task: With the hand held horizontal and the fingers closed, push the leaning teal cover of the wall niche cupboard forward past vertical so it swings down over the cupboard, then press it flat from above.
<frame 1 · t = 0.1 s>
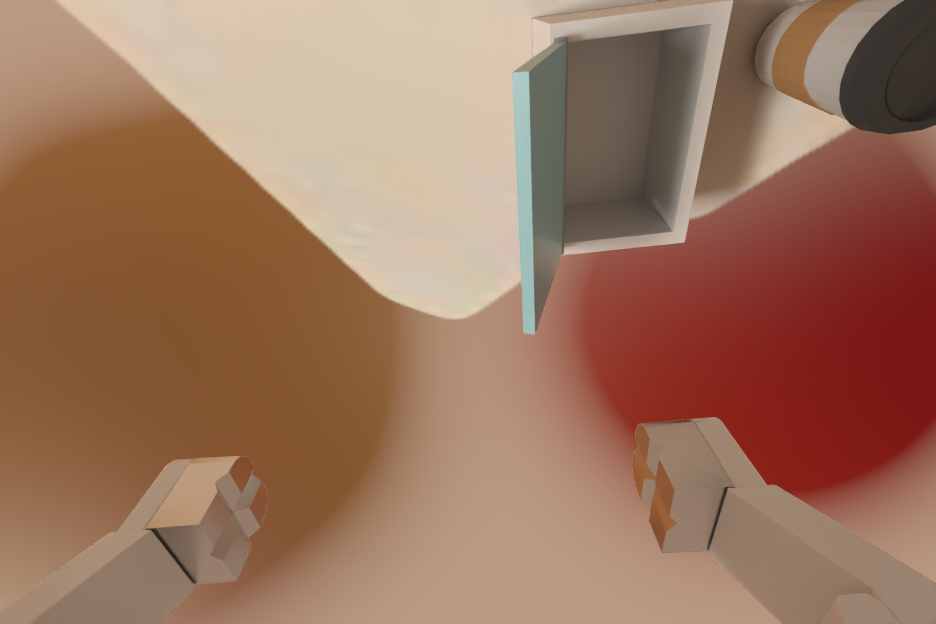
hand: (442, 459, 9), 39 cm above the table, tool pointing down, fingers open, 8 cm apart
wall niche cupboard: (602, 121, 42), on the table
cover: (545, 187, 30), point 15 cm above the table, hinge at 110.0°
coffee cup: (787, 45, 39), on the table
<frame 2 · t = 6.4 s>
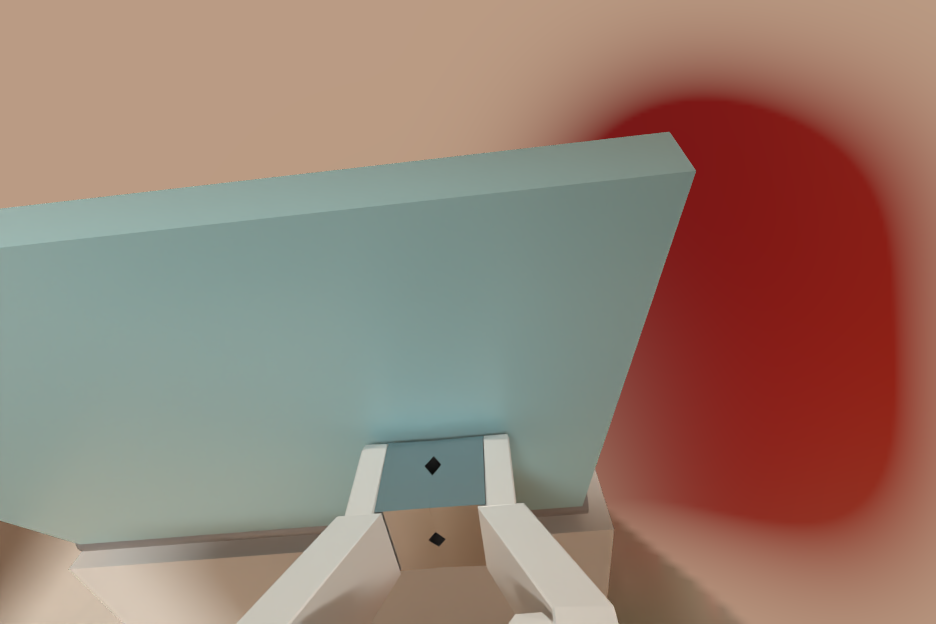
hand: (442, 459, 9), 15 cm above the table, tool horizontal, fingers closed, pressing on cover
wall niche cupboard: (406, 528, 24), on the table
cover: (244, 444, 10), point 15 cm above the table, hinge at 109.5°, touching gripper
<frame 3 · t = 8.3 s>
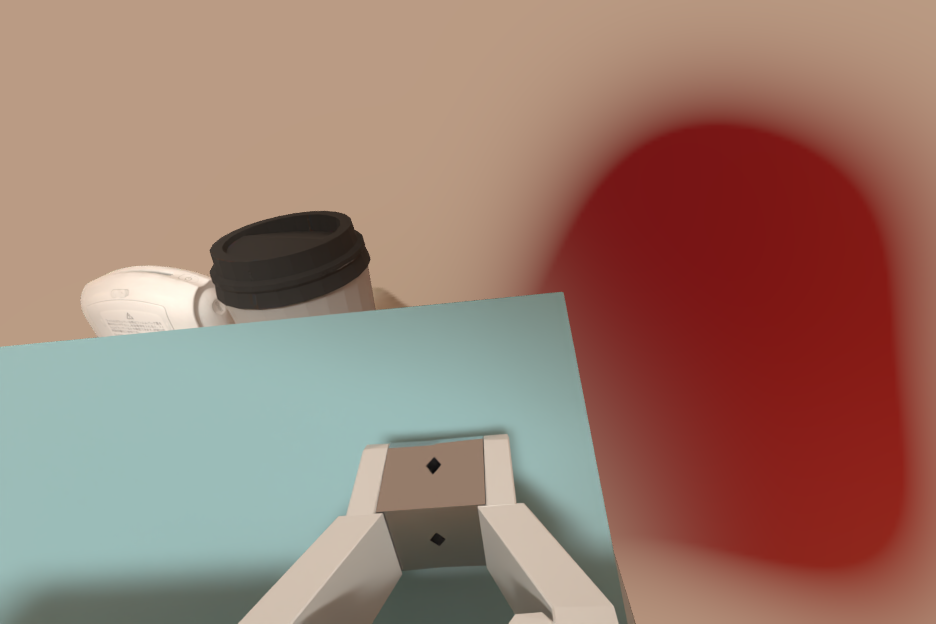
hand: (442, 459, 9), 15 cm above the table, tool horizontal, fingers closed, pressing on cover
photo printer: (215, 410, 35), on the table
cover: (240, 581, 10), point 13 cm above the table, hinge at 31.7°, touching gripper
coffee cup: (351, 435, 31), on the table
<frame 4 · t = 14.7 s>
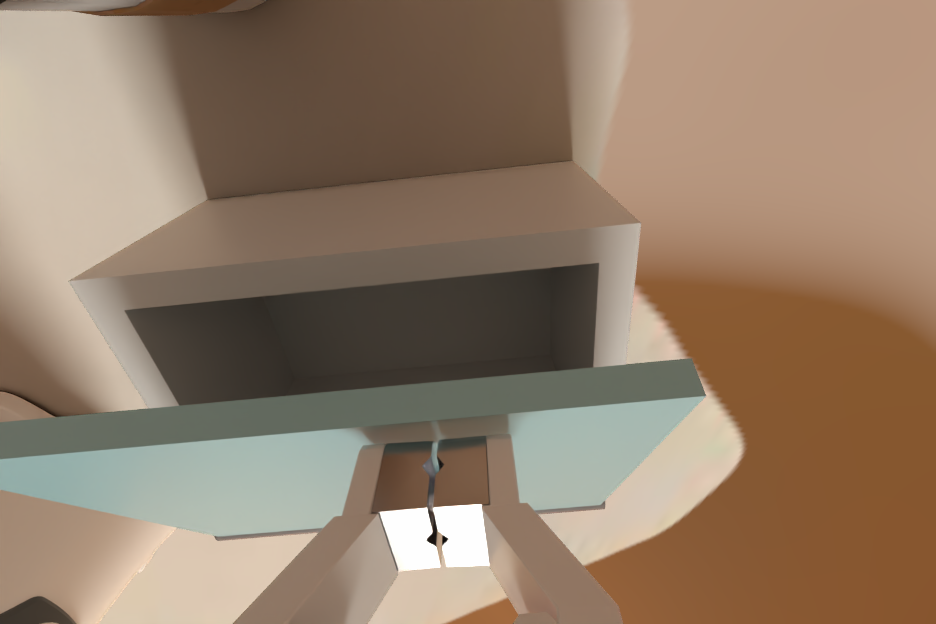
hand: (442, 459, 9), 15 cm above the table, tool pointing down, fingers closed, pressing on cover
wall niche cupboard: (407, 282, 24), on the table
cover: (374, 482, 14), point 12 cm above the table, hinge at 25.9°, touching gripper
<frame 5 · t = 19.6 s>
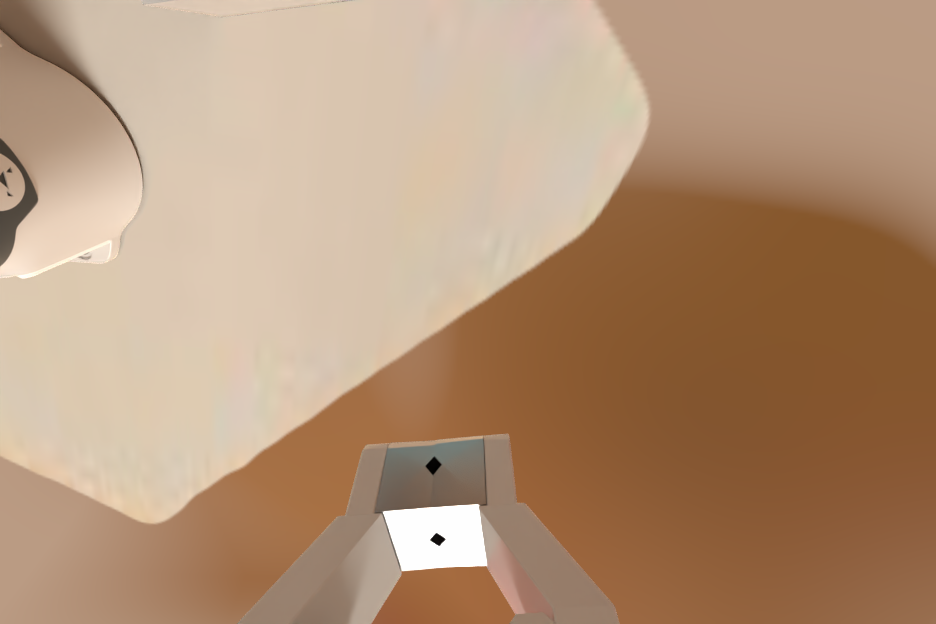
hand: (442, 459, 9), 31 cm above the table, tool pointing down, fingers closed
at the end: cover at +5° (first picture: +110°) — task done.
